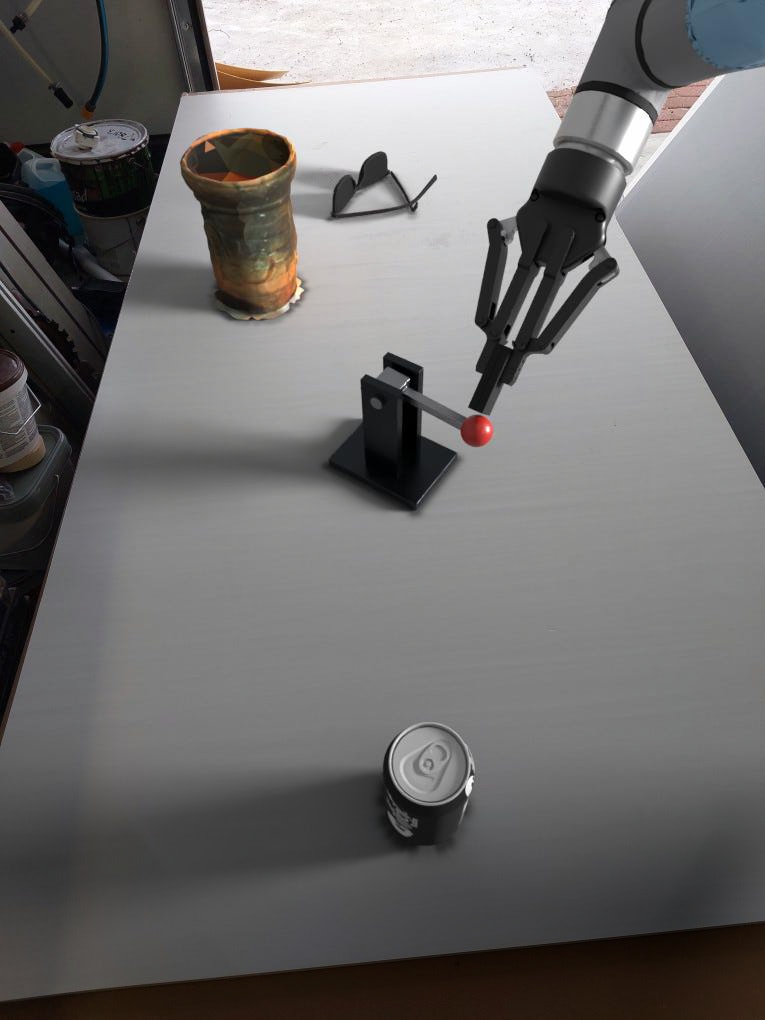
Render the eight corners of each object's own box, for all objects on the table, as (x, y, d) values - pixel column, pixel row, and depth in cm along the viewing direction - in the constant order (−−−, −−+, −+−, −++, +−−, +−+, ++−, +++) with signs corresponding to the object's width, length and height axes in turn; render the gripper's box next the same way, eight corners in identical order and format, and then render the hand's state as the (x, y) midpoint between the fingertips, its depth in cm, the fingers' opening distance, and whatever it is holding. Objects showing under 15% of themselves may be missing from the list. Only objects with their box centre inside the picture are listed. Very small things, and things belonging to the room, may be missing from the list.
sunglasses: (400, 243, 107) (400, 213, 103) (325, 217, 112) (322, 187, 108) (453, 194, 115) (455, 164, 111) (381, 172, 120) (380, 142, 116)
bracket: (457, 459, 80) (466, 369, 69) (415, 511, 76) (418, 424, 65) (372, 418, 85) (368, 328, 73) (328, 465, 80) (317, 376, 69)
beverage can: (368, 805, 58) (362, 762, 48) (422, 749, 61) (426, 697, 51) (426, 866, 55) (432, 834, 45) (479, 804, 58) (496, 761, 48)
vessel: (332, 284, 101) (319, 144, 85) (266, 335, 94) (239, 194, 78) (260, 251, 106) (235, 114, 90) (192, 298, 100) (153, 158, 84)
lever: (495, 438, 70) (501, 417, 67) (480, 458, 68) (485, 437, 65) (388, 382, 73) (390, 360, 70) (371, 400, 72) (372, 378, 69)
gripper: (662, 200, 62) (548, 440, 67) (531, 161, 67) (434, 389, 72) (659, 167, 55) (531, 437, 61) (513, 126, 60) (406, 381, 65)
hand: (478, 411), depth 66 cm, fingers closed
